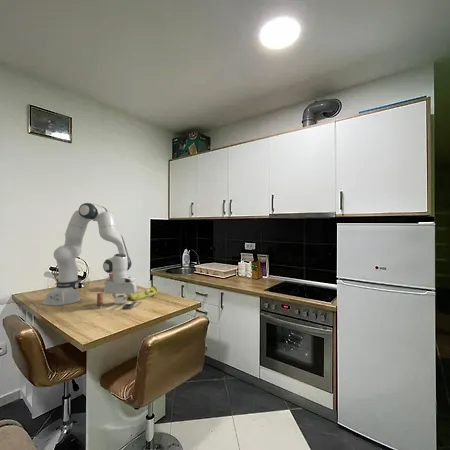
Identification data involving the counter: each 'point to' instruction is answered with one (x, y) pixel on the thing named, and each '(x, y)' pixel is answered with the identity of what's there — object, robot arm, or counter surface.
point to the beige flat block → (123, 306)
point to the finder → (120, 299)
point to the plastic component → (144, 294)
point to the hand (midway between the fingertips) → (120, 300)
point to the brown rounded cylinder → (99, 300)
